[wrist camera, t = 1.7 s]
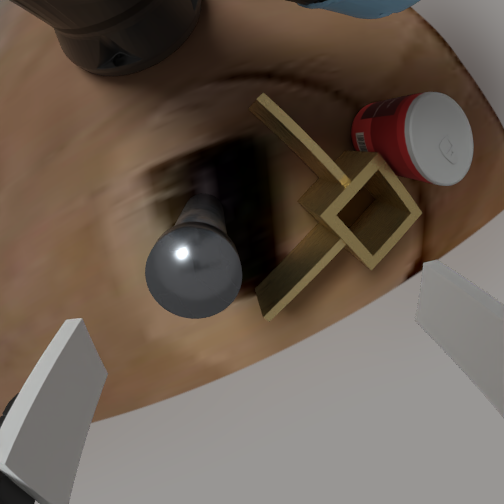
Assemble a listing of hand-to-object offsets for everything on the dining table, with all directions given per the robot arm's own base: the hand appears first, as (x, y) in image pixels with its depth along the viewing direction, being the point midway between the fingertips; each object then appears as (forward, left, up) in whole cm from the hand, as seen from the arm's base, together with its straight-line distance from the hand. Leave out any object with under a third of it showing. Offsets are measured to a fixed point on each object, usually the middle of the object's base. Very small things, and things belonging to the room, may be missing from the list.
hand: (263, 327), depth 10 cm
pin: (-2, -2, -21) cm, 21 cm away
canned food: (+6, +17, -21) cm, 28 cm away
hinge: (+3, +4, -21) cm, 21 cm away
